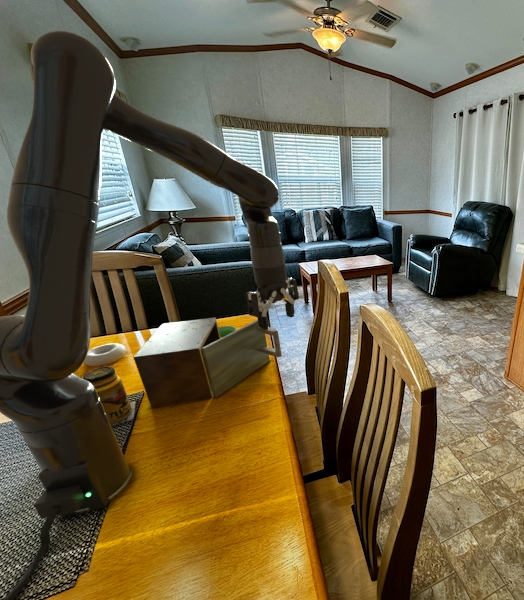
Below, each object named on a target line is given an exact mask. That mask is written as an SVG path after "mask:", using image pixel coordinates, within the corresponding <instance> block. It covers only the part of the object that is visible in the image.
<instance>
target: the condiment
mask: <svg viewBox="0 0 524 600" xmlns="http://www.w3.org/2000/svg"><path fill="white" fill-rule="evenodd" d="M82 378H83V379H85V380H87V381H89V382H90V383H92V384H93V386H94V387H95V389H96V391H97V393H98V396H99V398H100V401H101V403H102V405H103V408H104V410H105V413H106V415H107V417H108V420H109V422H110V424H111V427H113V426H116V425H119V424H122V423H125V422H127V421H128V422H129V421H132V420H133V419H134V416H135V412H136V411H135V410H136V401H137V400H135V401H130V399H129V396H128V394H127V391H126V389H125V386H124V384H123V380H122V378H121V376H119V375H118V373H117V372H116V369H115V368H114V367H113V366H108V365H104V366H98V367H96V368H94V369H91V370H89V371H88V372H86V373H85V374H83V377H82ZM126 419H127V420H126Z"/></svg>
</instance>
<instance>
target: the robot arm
mask: <svg viewBox="0 0 524 600" xmlns="http://www.w3.org/2000/svg"><path fill="white" fill-rule="evenodd" d="M29 59H30V60H29V61H30V62H29V77H30V79H31V81H30V82H31V83H32V85H33V100H32V101H33V102H32V104H33V105H32V111H31V117H30V121H29V124H28V127H27V129H26V131H25V135H24V138H23V140H22V143H21V145H20V149H19V152H18V156H17V159H16V162H15V166H14V169H13V174H12V178H11V183H10V189H9V196H8V202H7V209H6V222H7V227H8V231H9V234H10V236H11V238H12V240H13V243H14V245H15V247H16V249H17V251H18V253H19V255H20V256H21V259H22V261H23V264H24V266H25V268H26V271H27V274H28V281H29V283H28V284H29V285H28V291H29V292H28V297H27V305H26V311H25V315H22V314H20V315H19V314H17V315H15V314H12V315H3V316H0V413H1V414H2V415H3V417H4V416H5V417H6V418H8V419H9V420H10V421H12V423H14V424H15V426H16V428H17V430H18V431H19V433H20V434H21V436H22V439H23V440H24V442H25V443H26V446H27V448H28V449H29V451H30V453H31V454H32V456H33V458H34V460H35V462H36V464H37V466H38V467H39V469H40V470H41V471H40V472H39V473H38V474H37V478H38V479H39V481H40V483H41V485H42V487H43V488H44V490H43V492H42V494H40V496H39V497H38V498H37V499H36V501H35V502H34V504H33V507H34V508H35V510H36V512H37V513H38V515H39V517H40V519H42V520H44V519H45V521H44V523H43V525H42V528H41V530H40V533H39V542H40V546H39V548H38V550H37V553H36V555H35V557H34V559H33V560H32V563H31V564H30V566H29V568H27V570H26V572H25V573H24V574H23V575H22V577H21V578H20V579H19V581H18V582H17V583H16V584H15V586H14V587H13V588H11V590H10V591H9V592H8V594H6V596H5V597H4V598H3V599H2V600H14V599H15V598H16V597H17V596H18V595H19V594H20V592H21V591H22V589H24V587H25V586H26V585H27V583H28V582H29V580H30V579H31V578H32V576H33V575H34V573H35V572H36V571H35V570H36V569H37V567H38V566H39V564H40V563H41V561H42V560H43V558H44V556H45V554H46V553H47V552H48V551H49V550H48V549H49V547H50V545H51V536H50V533H51V530H52V526H53V524H54V522H55V520H56V518H57V517H58V516H59V517H61V519H63V518H68V517H71V516H75V515H81V514H85V513H89V512H94V511H97V510H102V509H105V508H107V507H108V505H109V503H110V502H111V501H112V500H114V499H115V498H116V497H117V496H119V495H120V494H121V493H122V492H123V491H124V490H125V489H126V488H127V487H128V486H129V483H130V482H131V480H132V476H133V472H132V469H131V467H130V466H129V464H128V461H127V459H126V457H125V454H124V453H123V450H122V448H121V445H120V443H119V441H118V438H117V436H116V434H115V432H114V429H113V426H112V424H110V422H109V420H108V417H107V415H106V413H105V410H104V408H103V405H102V403H101V401H100V398H99V396H98V393H97V391H96V389H95V387H94V386H93V384H92V383H90V382H89V381H87V380H85V379H83V377H80V376H78V375H77V374H75V373H76V372H77V371H78V370H79V369H80V368H81V367H82V366H83V364H84V363H83V362H84V360H85V358H86V356H87V353H88V351H89V350H90V345H91V278H92V269H93V268H92V267H93V256H94V245H95V238H96V234H97V233H96V232H97V228H98V220H99V215H100V213H99V212H100V205H101V190H102V142H103V141H102V140H103V133H104V130H105V131H107V132H110V133H112V134H114V135H116V136H119V137H121V138H122V139H125V140H128V141H130V142H132V143H134V144H136V145H139V146H141V147H143V148H145V149H147V150H149V151H151V152H153V153H155V154H157V155H159V156H161V157H163V158H164V159H166V160H169V161H171V162H172V163H175V164H176V165H178V166H179V167H182V168H183V169H185V170H187V171H189V172H190V173H192V174H194V175H195V176H197V177H199V178H201V179H203V180H204V181H206V182H208V183H210V184H212V185H213V186H215V187H218V188H221V189H223V190H224V189H225V190H226V191H228V192H230V193H232V194H234V195H236V196H237V199H238V203H239V207H240V210H241V213H242V216H243V219H244V221H245V224H246V226H247V234H248V241H249V248H250V258H251V259H250V260H251V264H252V271H253V277H254V282H255V284H256V286H257V289H256V291H255V290H254V291H247V292H246V293H245V297H246V305H247V312H248V313H247V314H248V316H251V317H255V318H257V319H258V323H259V327H260V328H261V329H264V330H267V329H269V328H270V327H269V320H268V316H267V313H268V311H269V309H270V308H271V307H272V304H275V303H277V302H281V301H283V302H284V308H285V315H286V317H288V318H294V317H295V313H296V312H295V311H296V310H295V305H294V304H295V301H298V300H299V299H300V294H299V289H298V283H297V279H295V278H292V277H288V275H287V266H286V260H285V254H284V249H283V245H282V237H281V232H280V225H279V223H278V221H277V220H276V219H275V218H274V217H273V214H272V208H273V207H275V206H276V205H277V204H278V202H279V200H280V191H279V188H278V187H277V185H276V183H275V182H274V181H273V180H272V179H271V178H269V177H268V176H266V175H265V174H263V173H262V172H260V171H258V170H256V169H254V168H252V167H250V166H249V165H246V164H245V163H243V162H240V161H239V160H237V159H235V158H233V157H232V156H231V155H230V154H228V153H227V152H225V151H224V150H222V149H221V148H219V147H218V146H216V145H215V144H213V143H211V141H208V140H207V139H205V138H203V137H202V136H200V135H199V134H196V133H194V132H192V131H189V130H188V129H185V128H183V127H180V126H177V125H175V124H172V123H168V122H166V121H163V120H161V119H158V118H156V117H154V116H152V115H149V114H148V113H146V112H143V111H142V110H140V109H138V108H136V107H135V106H133V105H131V104H130V103H129V102H127V101H126V100H124V99H123V98H122V97H120V96H119V95H117V94H116V93H115V92H116V90H117V80H116V75H115V72H114V70H113V67H112V65H111V63H110V62H109V60H108V59H107V57H106V56H105V54H104V52H102V51H101V50H100V49H99V47H98V46H97V45H95V44H94V43H92V41H90V40H89V39H87V38H85V36H82V35H79V34H77V33H74V32H71V31H68V30H67V31H66V30H51V31H48V32H45V33H43V34H42V35H40V36H38V37H37V38H36V39H35V40H34V42H33V44H32V46H31V49H30V58H29ZM264 302H265V303H264Z"/></svg>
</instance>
